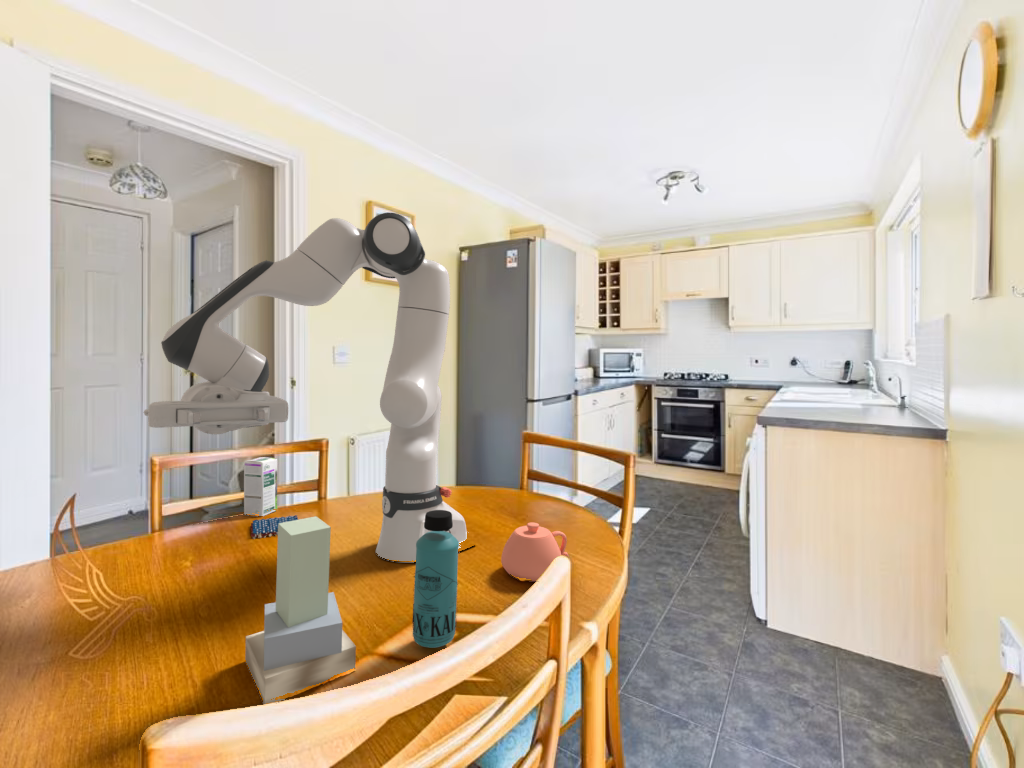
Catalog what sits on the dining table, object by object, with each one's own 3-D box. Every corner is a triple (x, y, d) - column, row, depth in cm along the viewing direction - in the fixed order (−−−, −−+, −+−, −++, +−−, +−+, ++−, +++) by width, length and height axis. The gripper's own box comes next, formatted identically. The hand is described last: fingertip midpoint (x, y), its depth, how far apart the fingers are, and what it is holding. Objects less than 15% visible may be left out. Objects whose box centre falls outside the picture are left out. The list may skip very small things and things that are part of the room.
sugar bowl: (495, 562, 100) (497, 515, 99) (558, 559, 103) (560, 512, 102) (508, 590, 88) (510, 536, 87) (578, 585, 91) (581, 532, 91)
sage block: (313, 598, 67) (316, 516, 66) (327, 614, 63) (330, 527, 63) (275, 610, 64) (278, 523, 63) (288, 627, 60) (291, 535, 59)
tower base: (326, 637, 72) (327, 611, 72) (355, 675, 63) (355, 645, 63) (245, 664, 65) (245, 636, 64) (264, 711, 56) (265, 679, 56)
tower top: (332, 618, 70) (333, 592, 69) (341, 652, 62) (342, 622, 62) (264, 632, 65) (264, 604, 65) (263, 670, 57) (264, 638, 57)
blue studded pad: (250, 527, 116) (250, 519, 116) (297, 521, 122) (297, 514, 122) (250, 542, 107) (250, 533, 107) (301, 535, 112) (301, 526, 112)
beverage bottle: (414, 633, 73) (417, 505, 72) (457, 632, 73) (461, 505, 72) (408, 659, 66) (412, 519, 65) (455, 658, 67) (460, 519, 66)
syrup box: (262, 517, 122) (263, 462, 122) (242, 515, 124) (243, 460, 123) (277, 510, 128) (278, 457, 127) (258, 508, 129) (259, 456, 129)
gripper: (143, 392, 78) (147, 398, 68) (276, 391, 92) (297, 396, 81) (142, 429, 79) (147, 442, 68) (276, 423, 92) (297, 433, 81)
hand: (230, 417), depth 75 cm, fingers open, 8 cm apart
